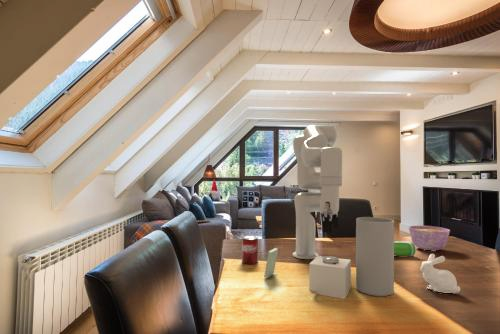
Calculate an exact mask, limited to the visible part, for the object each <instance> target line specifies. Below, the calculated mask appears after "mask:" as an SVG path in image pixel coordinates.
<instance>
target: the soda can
mask: <svg viewBox="0 0 500 334" xmlns="http://www.w3.org/2000/svg"><path fill="white" fill-rule="evenodd" d="M241 263H242V264H243V265H247V266H251V265H257V264H259V238H258V237H256V236H251V235H250V236H248V235H247V236H244V237H242V238H241Z"/></svg>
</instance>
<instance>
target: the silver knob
mask: <svg viewBox="0 0 500 334" xmlns="http://www.w3.org/2000/svg"><path fill="white" fill-rule="evenodd" d="M339 258H340V257H337V256H331V255H330V256H329V255H328V256H327V255H326V256H324V257H323V258H322V261H323V262H324V263H328V264H337V263H339Z"/></svg>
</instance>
